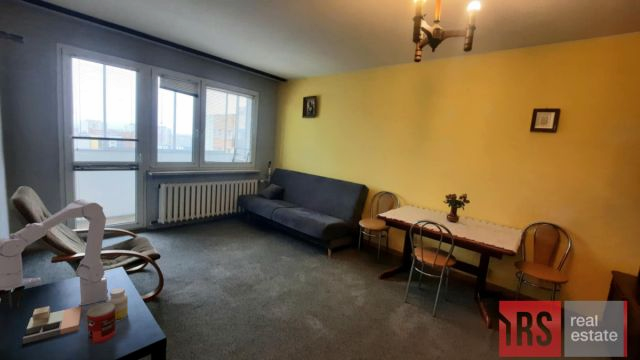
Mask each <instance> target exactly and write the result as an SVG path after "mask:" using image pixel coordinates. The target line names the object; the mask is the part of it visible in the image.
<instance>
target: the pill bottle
mask: <svg viewBox="0 0 640 360" xmlns="http://www.w3.org/2000/svg"><path fill="white" fill-rule="evenodd" d="M125 292H126V290H125V288H124V287H116V288H113V289H111V290H110V292H109V295H110V296H109V297H108V298H107V303H112V304H114V305H115V323H117V322H120V321H122V320H124V319H126V317H127V316H128V314H129V307H128V305H129V304H128V303H129V301H128V300H129V299H128V294H126V293H125Z"/></svg>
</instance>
